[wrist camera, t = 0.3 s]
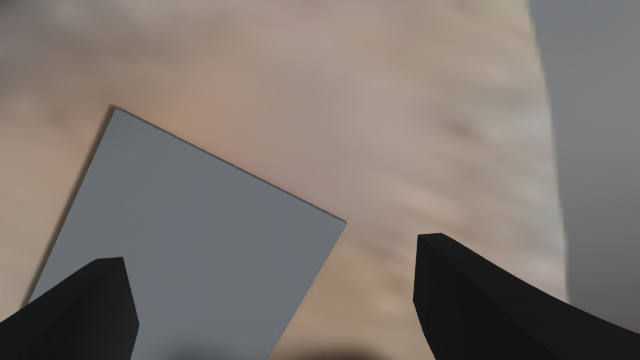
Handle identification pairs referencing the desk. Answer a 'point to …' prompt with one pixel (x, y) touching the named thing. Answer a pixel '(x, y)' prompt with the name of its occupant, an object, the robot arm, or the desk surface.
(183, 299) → the charcoal mat
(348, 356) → the desk surface
